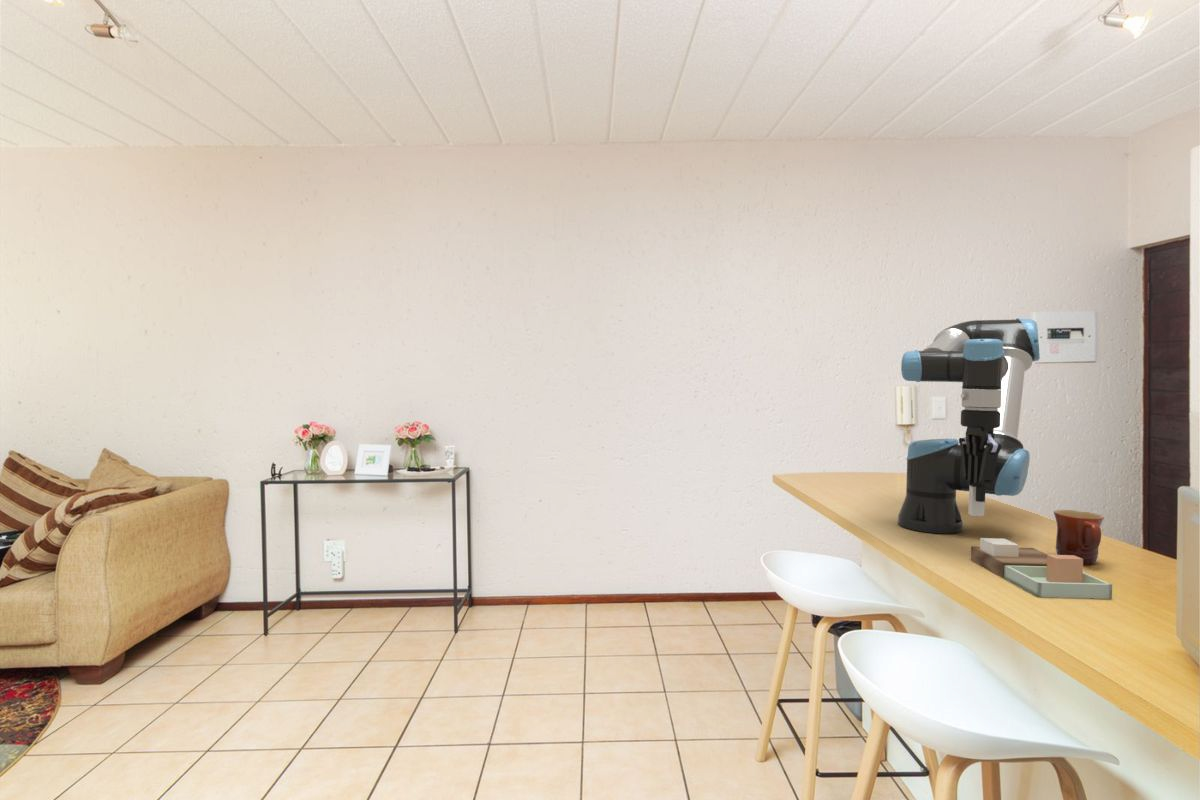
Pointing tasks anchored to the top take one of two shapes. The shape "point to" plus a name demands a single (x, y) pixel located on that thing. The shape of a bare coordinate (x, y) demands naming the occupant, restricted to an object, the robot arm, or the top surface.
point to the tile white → (999, 547)
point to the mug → (1078, 534)
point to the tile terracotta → (1064, 568)
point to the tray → (1056, 584)
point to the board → (1008, 559)
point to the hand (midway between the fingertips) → (976, 515)
